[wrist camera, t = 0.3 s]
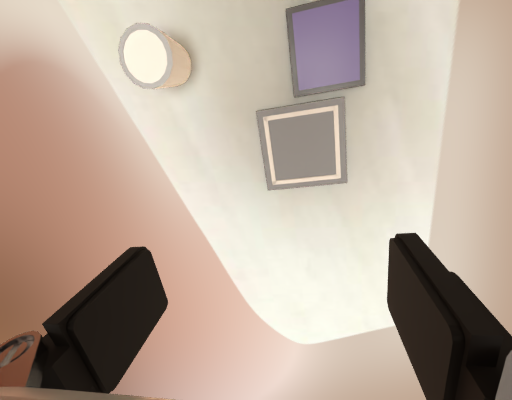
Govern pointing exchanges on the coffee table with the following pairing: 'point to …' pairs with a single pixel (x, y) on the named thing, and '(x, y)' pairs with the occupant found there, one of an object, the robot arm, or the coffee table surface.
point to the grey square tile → (304, 144)
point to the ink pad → (327, 45)
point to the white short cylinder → (153, 58)
